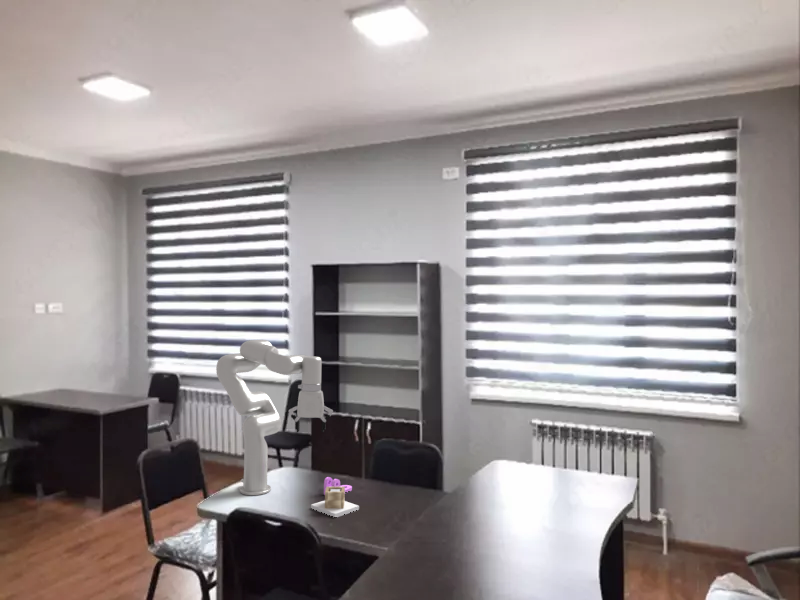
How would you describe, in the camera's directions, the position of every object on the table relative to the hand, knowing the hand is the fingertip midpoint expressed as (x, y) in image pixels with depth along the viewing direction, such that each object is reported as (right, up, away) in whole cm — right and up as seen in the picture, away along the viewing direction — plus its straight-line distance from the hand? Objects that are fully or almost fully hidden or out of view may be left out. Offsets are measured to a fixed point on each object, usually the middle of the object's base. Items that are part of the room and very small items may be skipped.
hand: (310, 431), depth 222 cm
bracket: (+10, -29, +14) cm, 34 cm away
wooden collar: (+10, -27, -6) cm, 29 cm away
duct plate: (+10, -28, -6) cm, 31 cm away
